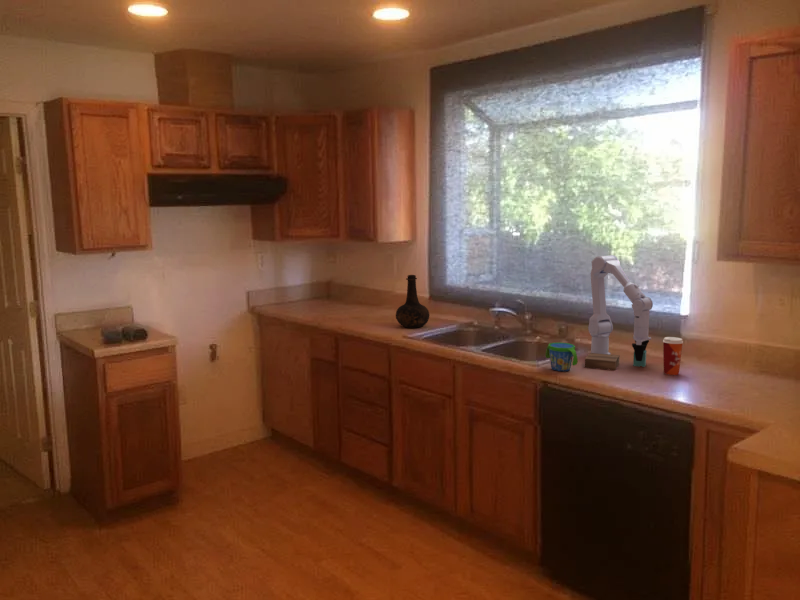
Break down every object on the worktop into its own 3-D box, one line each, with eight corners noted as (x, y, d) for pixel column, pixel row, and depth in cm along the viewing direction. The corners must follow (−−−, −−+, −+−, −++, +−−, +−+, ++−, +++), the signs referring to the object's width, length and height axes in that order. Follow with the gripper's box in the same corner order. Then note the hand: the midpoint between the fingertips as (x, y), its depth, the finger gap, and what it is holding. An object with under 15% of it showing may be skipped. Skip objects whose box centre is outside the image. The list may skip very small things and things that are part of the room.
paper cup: (675, 376, 274) (677, 341, 272) (657, 373, 280) (658, 338, 278) (685, 373, 279) (687, 338, 277) (667, 369, 285) (669, 335, 283)
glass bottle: (435, 325, 383) (435, 274, 379) (418, 331, 368) (418, 277, 364) (407, 322, 393) (407, 272, 388) (389, 327, 378) (389, 275, 374)
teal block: (634, 363, 296) (635, 349, 295) (645, 364, 294) (646, 350, 293) (633, 365, 292) (633, 351, 291) (644, 367, 290) (645, 352, 289)
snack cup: (584, 372, 281) (585, 347, 280) (563, 375, 277) (563, 350, 275) (558, 364, 295) (559, 340, 294) (538, 366, 291) (539, 342, 289)
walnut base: (589, 362, 301) (590, 352, 300) (619, 364, 296) (619, 355, 295) (584, 368, 290) (584, 358, 289) (614, 371, 285) (615, 361, 284)
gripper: (649, 330, 283) (648, 363, 285) (653, 324, 296) (651, 356, 298) (631, 329, 286) (630, 361, 288) (635, 323, 299) (634, 354, 301)
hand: (639, 358), depth 293 cm, fingers open, 7 cm apart
